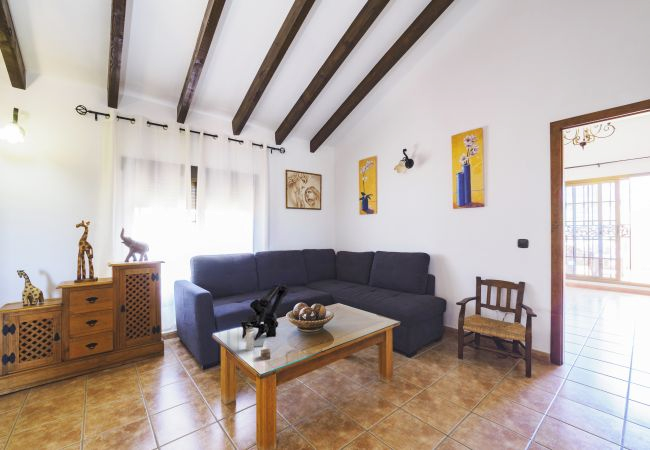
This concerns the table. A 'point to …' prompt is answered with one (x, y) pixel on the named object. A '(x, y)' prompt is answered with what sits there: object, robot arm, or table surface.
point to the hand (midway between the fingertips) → (248, 339)
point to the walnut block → (265, 354)
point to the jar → (250, 339)
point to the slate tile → (259, 343)
